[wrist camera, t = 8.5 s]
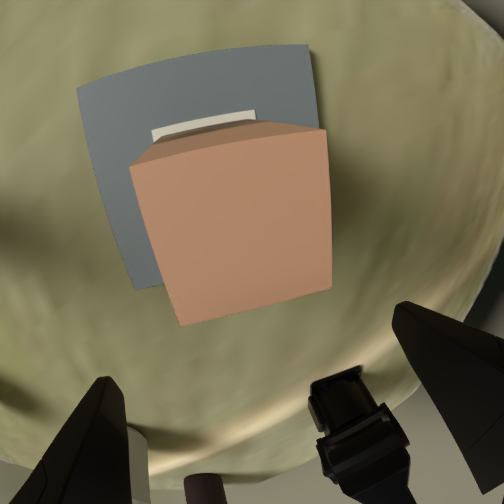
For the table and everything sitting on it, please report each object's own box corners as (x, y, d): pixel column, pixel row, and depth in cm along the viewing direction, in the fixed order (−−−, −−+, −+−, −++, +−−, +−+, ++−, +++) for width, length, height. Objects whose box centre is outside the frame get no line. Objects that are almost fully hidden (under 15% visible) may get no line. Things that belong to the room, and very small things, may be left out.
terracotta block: (272, 122, 11) (325, 129, 7) (284, 229, 14) (331, 287, 9) (151, 145, 11) (129, 167, 6) (179, 253, 13) (180, 326, 9)
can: (136, 419, 28) (138, 511, 17) (153, 444, 31) (160, 522, 21) (81, 418, 26) (74, 503, 16) (104, 444, 30) (103, 517, 19)
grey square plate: (302, 47, 15) (308, 44, 14) (320, 239, 22) (327, 245, 21) (81, 89, 13) (75, 88, 12) (136, 282, 20) (135, 291, 19)
